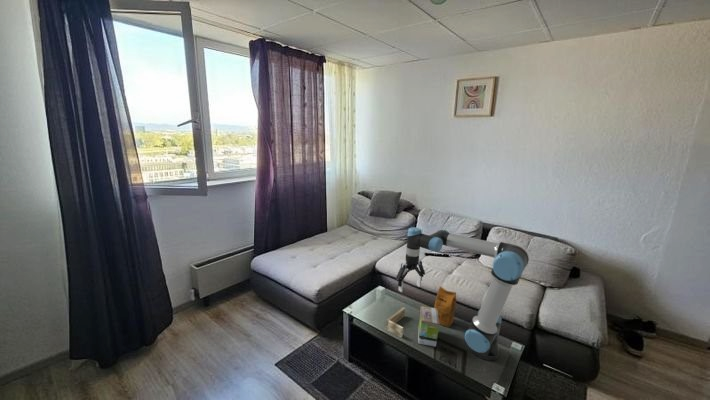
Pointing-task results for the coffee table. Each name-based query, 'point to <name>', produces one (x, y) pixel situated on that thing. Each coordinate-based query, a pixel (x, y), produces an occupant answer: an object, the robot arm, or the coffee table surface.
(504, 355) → the coffee table surface
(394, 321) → the birch corner fence
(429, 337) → the tea box
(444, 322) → the coffee package
